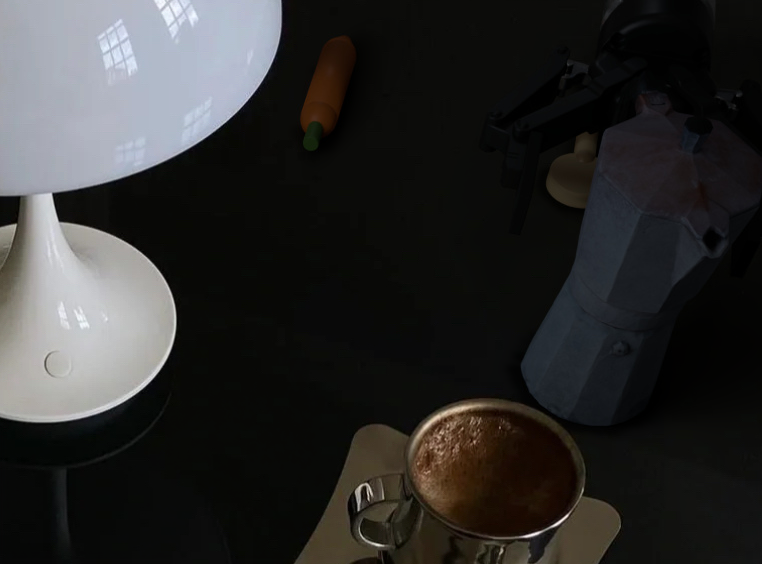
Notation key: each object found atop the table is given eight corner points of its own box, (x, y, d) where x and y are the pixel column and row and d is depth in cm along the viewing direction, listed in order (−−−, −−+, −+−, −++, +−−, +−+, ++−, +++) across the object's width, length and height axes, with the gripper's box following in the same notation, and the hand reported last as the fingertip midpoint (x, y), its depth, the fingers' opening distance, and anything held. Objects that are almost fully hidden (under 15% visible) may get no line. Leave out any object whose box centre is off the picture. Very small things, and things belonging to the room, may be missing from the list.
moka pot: (554, 471, 84) (665, 206, 67) (476, 304, 92) (558, 29, 75) (693, 451, 85) (836, 186, 68) (605, 288, 93) (713, 13, 76)
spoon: (562, 81, 105) (568, 62, 104) (623, 91, 105) (629, 73, 104) (542, 201, 98) (548, 183, 96) (607, 214, 97) (614, 195, 96)
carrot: (326, 46, 107) (330, 13, 105) (360, 52, 107) (365, 19, 104) (290, 157, 100) (294, 123, 97) (326, 163, 99) (331, 130, 97)
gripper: (815, 120, 93) (813, 326, 82) (463, 57, 95) (416, 248, 85) (867, 17, 86) (871, 225, 76) (487, -48, 89) (440, 144, 78)
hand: (631, 238), depth 80 cm, fingers open, 13 cm apart
